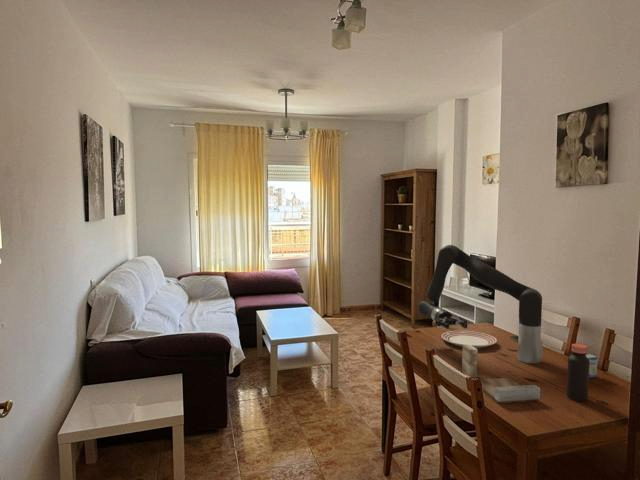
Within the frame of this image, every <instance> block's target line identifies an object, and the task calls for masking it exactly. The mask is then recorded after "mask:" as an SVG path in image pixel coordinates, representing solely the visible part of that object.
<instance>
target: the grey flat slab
mask: <svg viewBox="0 0 640 480" xmlns="http://www.w3.org/2000/svg"><path fill="white" fill-rule="evenodd" d="M480 380H481V382H482V387H483V391H482V393H484V394H485V395H486V396H487V397H488V398H490V399H491V400H492V401H493V402H494V403H496V404H497V405H500V404H511V403H512V404H513V403H514V404H515V403H526V402H527V403H528V402H538V401H539V399H532V400H518V401H503V402H499V401H498V400H496V399H495V398H494V397H495V387H509V386H521V385H519V383H517V382H515V381H514V380H513V379H511V378H509V377H504V378H503V377H501V378H488V379H487V378H485V379H480Z"/></svg>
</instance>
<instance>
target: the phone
mask: <svg viewBox="0 0 640 480" xmlns="http://www.w3.org/2000/svg"><path fill="white" fill-rule="evenodd" d="M509 339H510V340H513V341H514V342H516V343H518V335H512V336H510V337H509Z"/></svg>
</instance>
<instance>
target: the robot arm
mask: <svg viewBox="0 0 640 480" xmlns="http://www.w3.org/2000/svg"><path fill="white" fill-rule="evenodd" d="M452 265H456V266H458V267H460V268H462V269H463V270H465V271H466V272H467V273H468V274H470V275H471V277H472V278H474V279H475V280H477V281H478V282H480V283H481V284H483V285H485V286H487V288H488V287H489V288H490V289H493V290H494V291H499V292H501V293H504V294H507V295H509V296H511V297H513V298H514V299H516V300H517V301H518V335H517V336H518V342H517V359H518V361H520V362H523V363H527V364H538V363H541V362H543V361H542V360H543V341H542V339H541V335H542V312H543V311H542V310H543V308H542V307H543V296H542V294H541V293H540V292H539V291H538V290H537V289H535V288H532V287H529V286H527V285H524V284H522V283H521V282H518V281H516V280H514V279H513V278H511V277H510V276H508V275H507V274H505V273H503V272H502V271H501V270H498V269H497V268H494V267H493V266H491V265H489V264H488V263H485V262H483V261H481V260H479V259H478V258H475V257H472V255H471V256H470V255H469V254H467V252H465V251H463V250H462V249H460V248H459V247H457V246H455V245H453V244H447V245H445V246H443V247H442V248H440V249H439V251H438V254H437V259H436V265H435V268H434V273H433V275H432V278H431V281H430V283H429V286H428V289H427V292H426V298H428V299H429V300H430V301H426V300H422V301H420V302H419V303H418V305H417V310H418V312H419V314H420V315H422V316H425V317H427V318H430V319H431V320H433V324H434V325H435V326H436V327H438V328H440V327H442V328H445V329H446V330H449V329H450V326H453V327H462V328H463V329H468V321H467V320H466V319H464V318H462V317H458V318H456V317H454V316H453V315H452V313H451V312H449V311H448V310H446V309H444V308H441V307H440V301H441V296H442V293H443V291H444V287H445V285H446V284H445V283H446V279H447V275H448V272H449V270H450V268H451V267H452Z"/></svg>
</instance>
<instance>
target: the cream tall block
mask: <svg viewBox="0 0 640 480" xmlns="http://www.w3.org/2000/svg"><path fill="white" fill-rule="evenodd" d="M478 349H479V348H474V347H473V346H471V345H463V347H462V355H461V357H462V358H461V359H462V362H461V373H462V372H463V373H464V374H463V373H462V374H463V375H465V374H466V375H468V376H470V377H473V378H477V377H478ZM466 375H465V376H466ZM473 378H472V379H473Z"/></svg>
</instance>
